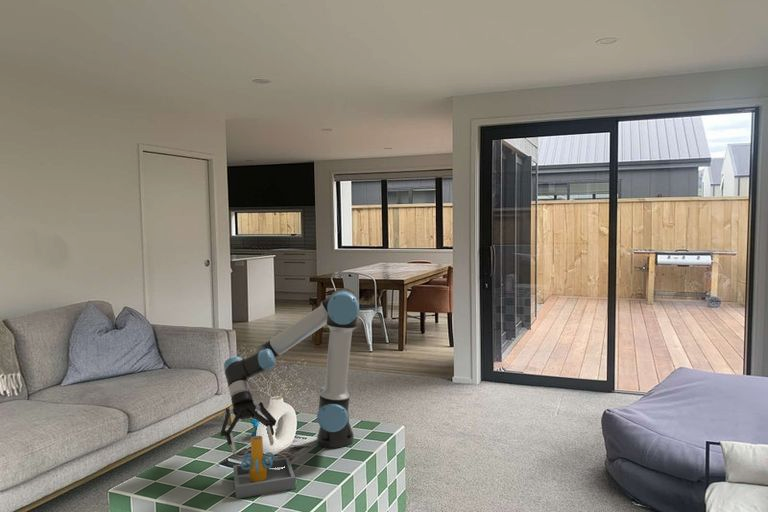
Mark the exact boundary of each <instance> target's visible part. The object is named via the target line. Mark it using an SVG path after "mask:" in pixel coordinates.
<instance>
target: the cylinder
mask: <svg viewBox="0 0 768 512" xmlns="http://www.w3.org/2000/svg"><path fill="white" fill-rule="evenodd" d="M250 449H251V450H250V452H251V453H245V454H244V455H243V458H242V459H243V460H242V461H241V467H242V469H243V470H250V480H251V481H252V482H261V481H264V480H266V479H267V469H269V468H271V467H272V461H273V460H274V459H275V455H274V453H273V452H268V451H267V452H266V453H265V454H264V445H263V435H254V436H253V437H252V436H251V437H250ZM269 455H270V456H271V457H269ZM267 460H269V462H266V461H267ZM247 461H249V462H247ZM243 464H246V465H250V466H249V467H248V468H245V467H244V466H243ZM265 464H270V466H266V465H265Z"/></svg>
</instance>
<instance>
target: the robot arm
mask: <svg viewBox="0 0 768 512" xmlns="http://www.w3.org/2000/svg"><path fill="white" fill-rule="evenodd" d="M359 312H360V304H359V298H358V296H357V294H356V293H355V291H353V290H351V289H349V288H346V287H344V288H342V287H341V288H339V289H337V290H335V291H334V292H332V293H331V294H330V295H329V296H328V297H326V299H324V300H322V301H321V302H320V305H319V306H318V307H316V308H315V309H314V310H312V311H311V312H309V313H308V314H306V315H305V316H303V317H302V318H300V319H299V320H297V321H296V322H294V323H292V325H290V326H288V327H287V328H285V329H284V330H282V331H281V332H280V333H278V334H276V335H275V336H273V337H272V338H271V339H269V340H268V341H266V342H265V343H261V344H260V345H259V346H257V347H256V350H255V351H254V352H253V354H252V355H250V356H248V357H245V358H242V357H240V356H234V357H233V356H232V357H229V358H228V359H226V360H225V361H224V363H223V368H224V374H225V379H226V383H227V386H228V391H229V396H230V398H231V399H230V400H231V401H230V402H231V404H232V409H230V408H225V411H224V414H225V417H224V420H223V424H222V427H221V430H220V434H219V435H220V437H225V438H226V443H227V445H228V446H229V445H230V447H231V451H232V455H235V454H236V453H237V452H236V451H237V449H236V444H235V443H236V442H235V439H234V436H233V433H232V432H233V430H234V429H235V427H236V425H237V423H238V422H239V420H242V421H243V420H246V419H248V420H249V419H250V418H252V419H255V420H256V421H257V420H258V421H259V423H260V422H261V423H262V424H263V426H264V427H266V430H267V434H268V436H267V437H268V441H269V445H270V446H274V444H275V442H274V438H273V437H274V434H275V431H274V426H276V424H277V420H276V419H275V417H274V416H273V415H272V414H271V413H270V411H268V409H266V407H265V405H264V404H263V403H264V402H260V401H259V403H257V404H255V403H254V399H253V395H252V393H251V392H252V391H251V389H250V384H249V380H248V379H249V378H252V377H255V376H256V375H259V374H261V373H264V372H265V371H269V370H270V369H272V368H274V367H275V366H276V365H277V362H276V359H277V358H278V357H279V356H281V355H283V354H284V353H285V352H287V351H288V350H290V349H291V348H292V347H295V346H296V345H297V344H299V343H300V342H302V341H303V340H304V339H306V338H308V337H309V336H311V335H312V334H315V333H316V332H317V331H319V329H321V328H323V327H325V326H327V327H328V328H329V336H328V337H329V338H328V348H327V356H326V358H327V359H326V369H325V379H324V386H322V387H320V389H319V393H318V395H319V399H318V400H319V401H318V411H317V413H316V414H317V415H316V419H317V423H318V426H319V429H318V433H317V436H316V437H317V438H316V439H317V441H318V442H317V444H318V446H321V447H324V448H328V449H335V448H342V447H346V446H349V445H351V444H352V443H354V441H355V435H354V432H353V430H352V427H351V424H350V419H349V416H350V415H349V413H350V412H349V406H350V405H349V404H350V394H349V391H348V390H349V389H348V378H349V368H350V367H349V364H350V355H351V346H352V338H353V337H352V335H353V331H354V330H355V329H356V328H357V325H358V315H359ZM256 409H257V410H258V411H259V412H260V413H261V414H262V415H261V414H260V413H258V411H257V410H256ZM232 414H233V415H234V419H233V420H232V422H231V424H230V426H229V427H228V429H227V426H228V425H227V424H228V422H229V419H230V417H231V416H232ZM226 429H227V431H226Z"/></svg>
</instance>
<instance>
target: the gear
mask: <svg viewBox="0 0 768 512" xmlns="http://www.w3.org/2000/svg"><path fill="white" fill-rule="evenodd" d="M258 422H259V421H258V420H256V419H254V418H252V419H250V423H251V425H252V427H253V428H255V431H253V433H252V434H251V435H250V436H251V437H253V436H256V434H257V433H256V430H257V426H258ZM259 423H260V422H259Z"/></svg>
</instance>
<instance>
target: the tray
mask: <svg viewBox="0 0 768 512" xmlns="http://www.w3.org/2000/svg"><path fill="white" fill-rule="evenodd" d="M265 461H266V462H269V460H268V459H266V460H265ZM265 465H266V466H270V464H265ZM243 466H244V467H245V468H248V467H249V466H250V465H246V464H245V463H244V464H243ZM284 466H285V468H283V469H280V470H267V479H266V480H264V481H261V482H252V481H251V480H250V470H243V469H242V467H241V464H235V465H233V467H232V468H233V482H234V490H235V492H234V493H235V499H236V498H237V499H243V498H248V497H253V496H254V497H255V496H260V495H268V494H272V493H278V492H285V491H290V490H296V489H297V487H296V485H297V483H296V475H295V473H294V470H293V469H294V468H293V467H292V464H291V461H290V459H289V457H282V458H274V460H273V461H272V467H271V468H275V467H276V468H277V467H284Z"/></svg>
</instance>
